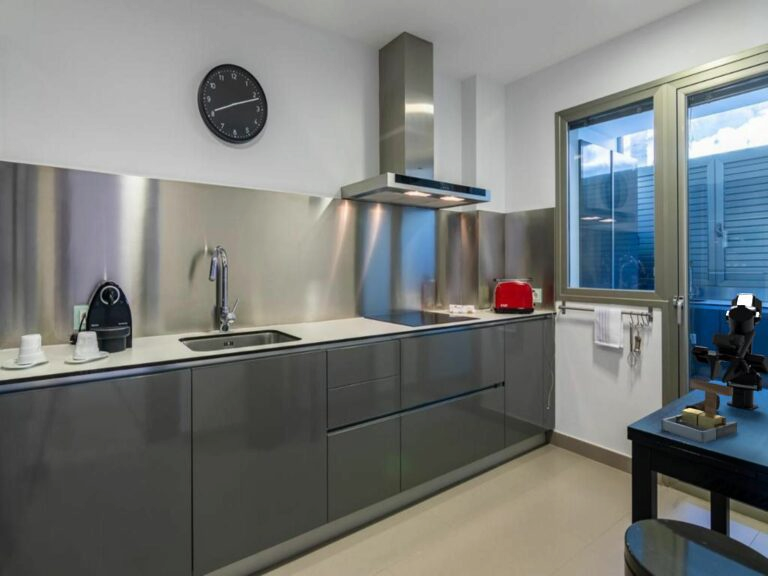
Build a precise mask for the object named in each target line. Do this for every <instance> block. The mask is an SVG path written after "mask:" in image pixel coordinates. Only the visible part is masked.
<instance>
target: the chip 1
mask: <svg viewBox="0 0 768 576" xmlns="http://www.w3.org/2000/svg"><path fill="white" fill-rule="evenodd" d="M703 413H705V412H702V411H699V410H695V409H691V408H688V409H685V408H684V409H682V410H681V414H682V420H683V421H687V422H690V423H693V424H698V415H699V414H703Z"/></svg>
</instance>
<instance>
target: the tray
mask: <svg viewBox="0 0 768 576" xmlns="http://www.w3.org/2000/svg"><path fill="white" fill-rule="evenodd" d="M675 416H676V415H673V416H670V417H666V418H662V419H661V420H660V421H661V424H660V427H661V428H660V429H662V431H664V430H665V431H664V432H667V431H668V432H667V433H670V432H671V434H673V433H674V434H673V435H677V436H679V437H682V438H685V439H689V440H692V441H694V442H699V443H701V444H705V443H709V442H711V441H715V440H717V439H716V428H712V429H708V430H705V431H700V430H696V429H693V428H690V427H687V426H683V425H680V424H677V423H676V417H675Z"/></svg>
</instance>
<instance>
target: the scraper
mask: <svg viewBox="0 0 768 576" xmlns="http://www.w3.org/2000/svg"><path fill="white" fill-rule="evenodd" d="M689 382H690V384H689V385H690V386H689V387H690V388H691V389H695V390H699V391H702V392H704V400H705V413H710V414H714V415H717V416H721V417H722V425H724V424H726V423H727V416H722V415H718V414H717V411H716V397H717V395H719V396H725V397H732V396H733V387H729V386H727V385H723V384H719V383H716V382H715V383H714V382H710V381H704V380H699V379H695V378H694V379H690V381H689ZM691 409H692V408H691ZM695 410H696V409H695ZM699 411H700V410H699ZM702 412H704V411H702Z"/></svg>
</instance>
